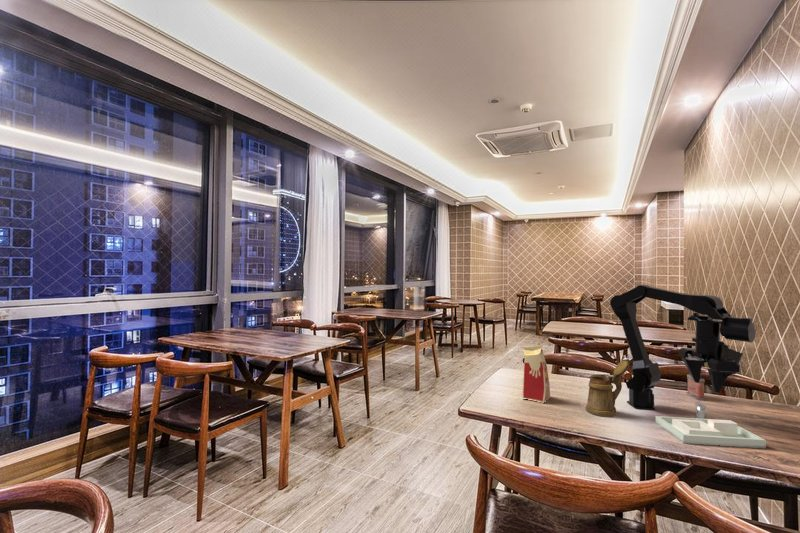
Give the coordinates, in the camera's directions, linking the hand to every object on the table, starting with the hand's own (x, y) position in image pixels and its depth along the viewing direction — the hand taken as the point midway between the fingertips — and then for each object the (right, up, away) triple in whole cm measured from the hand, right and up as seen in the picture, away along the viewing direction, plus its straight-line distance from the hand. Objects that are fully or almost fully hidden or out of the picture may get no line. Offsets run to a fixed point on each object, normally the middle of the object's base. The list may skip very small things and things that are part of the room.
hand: (706, 387), depth 112 cm
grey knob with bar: (+2, -12, +4) cm, 13 cm away
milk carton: (-44, -12, +24) cm, 51 cm away
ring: (-6, -11, -7) cm, 14 cm away
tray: (-6, -11, -7) cm, 15 cm away
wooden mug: (-25, -12, +10) cm, 29 cm away
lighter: (+18, -13, +26) cm, 34 cm away
